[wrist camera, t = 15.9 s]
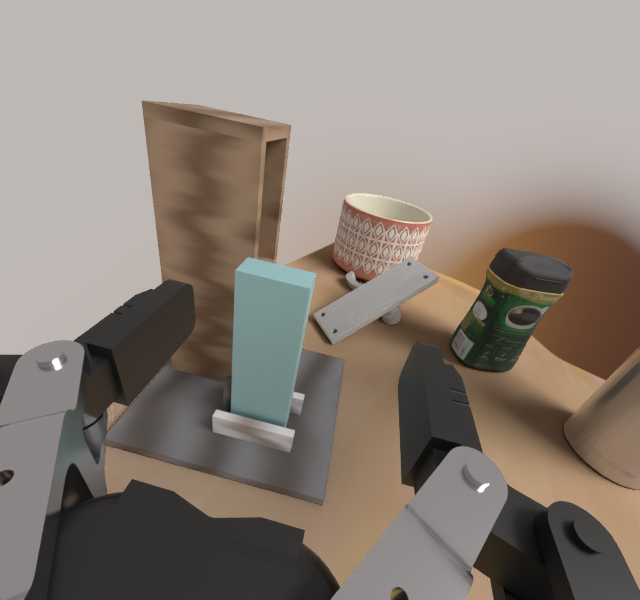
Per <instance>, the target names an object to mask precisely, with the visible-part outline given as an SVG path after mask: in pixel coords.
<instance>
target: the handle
mask: <svg viewBox="0 0 640 600" xmlns="http://www.w3.org/2000/svg"><path fill="white" fill-rule="evenodd" d="M345 276H346V279H347V283H348V285H349V287H350V288H351V289H353V291H351V292H349V293H348V294H346V295H344V296H343V297H341V298H339V299H337V300H336V301H334V302H332V303H331V304H329V305H327V306H325V307H324V308H322V309H320V310H319V311H317V312H315V313H313V317H314V318H315V320H316V321H317V323H318V324H319V326H320V327H321V329H322V330H323V332H324V333H325V335H326V336H327V337H328V339H329V340H330V342H331V343H332V344H336V343H338V342H340V341H341V340H343V339H345V338H346V337H348V336H350V335H351V334H353V333H354V332H356V331H358V330H359V329H361V328H363V327H364V326H366V325H368V324H369V323H371V322H373V321H374V320H376V319H378V318H379V317H381V316H382V320H383V321H384V322H385V323H387V324H389V325H394V324H397V323H398V322H399V321H400V320H401V313H400V308H399V305H401V304H402V303H404V302H406V301H407V300H409V299H411V298H412V297H414V296H416V295H417V294H419V293H421V292H422V291H424V290H426V289H427V288H429V287H431V286H432V285H434V284H436V283H437V281H438V276H437V275H436V274H434V273H433V272H431V271H430V270H429V269H427V268H426V267H425V266H423V265H422V264H421V263H419V262H418V261H416V260H415V259H414V258H412V257H409V258H408V259H406V260H404V261H402V262H401V263H399V264H397V265H396V266H394V267H392V268H390V269H389V270H387V271H385V272H384V273H382V274H380V275H378V276H377V277H375V278H373V279H372V280H370V281H368V282H367V283H365V284H363V285H362V284H360V283H358V282H357V281H355V280H356V278H355V274H354V272H352V271H351V272H349V273H347V274H346V275H345Z"/></svg>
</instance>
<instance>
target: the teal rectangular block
mask: <svg viewBox="0 0 640 600" xmlns="http://www.w3.org/2000/svg"><path fill="white" fill-rule="evenodd" d="M315 279H316V273H312V272H308V271H304V270H300V269H296V268H291V267H287V266H283V265H278V264H275V263H271V262H266V261H262V260H258V259H254V258H250V257H248V258H247V259H246V260H245V261H244V262H243V263H242V264H241V265H240V266H239V267H238V268H237V269H236V270H235V293H234V324H233V355H232V386H231V413H232V414H236V415H239V416H243V417H247V418H251V419H254V420H258V421H262V422H266V423H269V424H273V425H277V426H281V427H284V428H286V424H287V421H288V418H289V413H290V408H291V403H292V397H293V392H294V387H295V382H296V377H297V372H298V367H299V361H300V356H301V351H302V346H303V341H304V336H305V331H306V325H307V320H308V315H309V310H310V305H311V300H312V295H313V289H314V284H315Z"/></svg>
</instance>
